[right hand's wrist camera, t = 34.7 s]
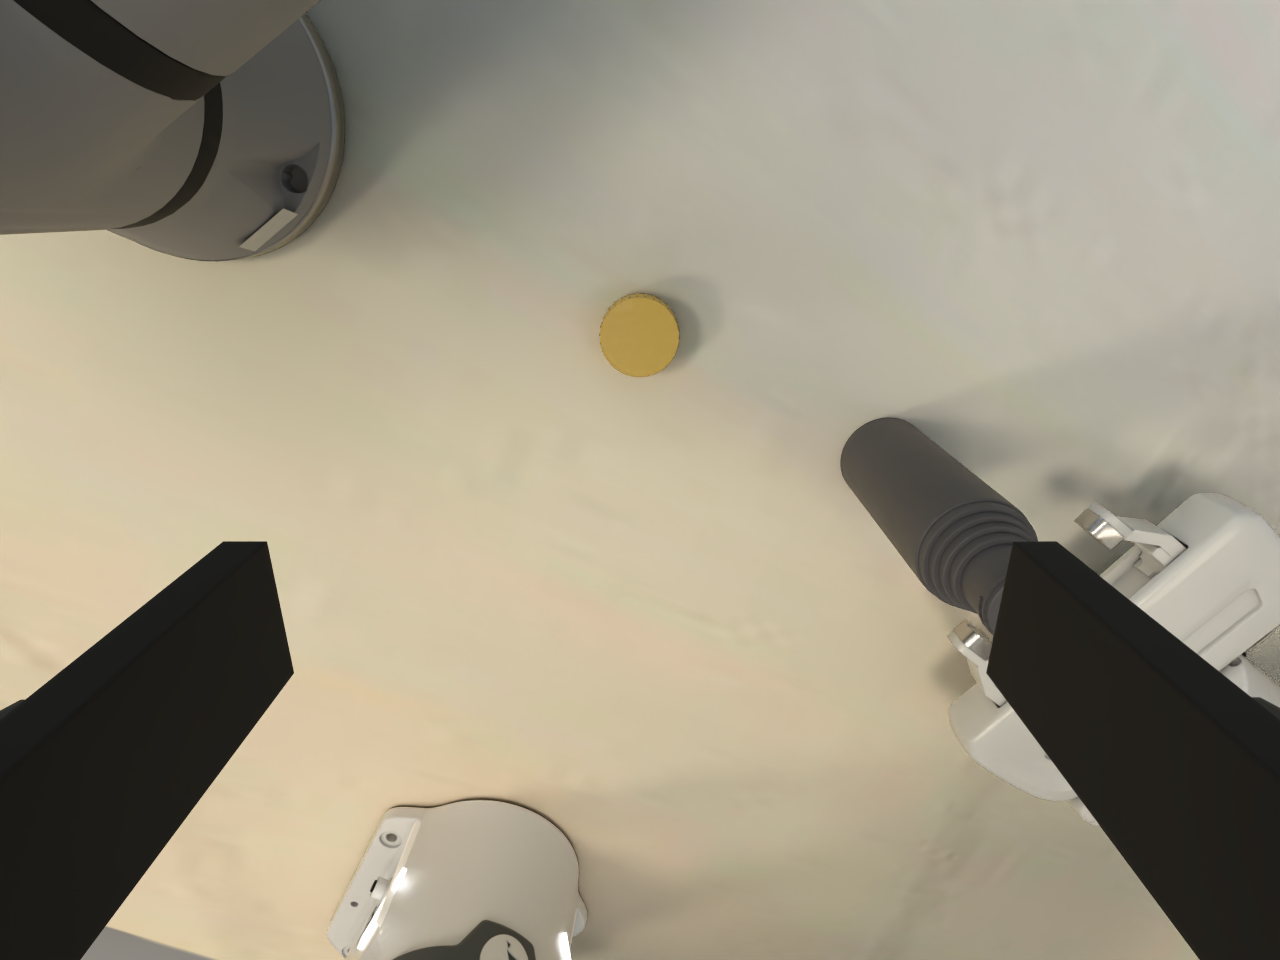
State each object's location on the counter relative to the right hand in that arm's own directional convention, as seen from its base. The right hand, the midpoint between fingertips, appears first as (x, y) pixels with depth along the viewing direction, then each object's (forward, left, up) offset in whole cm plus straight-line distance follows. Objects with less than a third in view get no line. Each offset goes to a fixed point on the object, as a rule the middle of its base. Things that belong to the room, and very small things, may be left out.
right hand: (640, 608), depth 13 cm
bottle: (+13, -11, -31) cm, 35 cm away
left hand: (+18, -17, -24) cm, 35 cm away
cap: (0, 0, -29) cm, 29 cm away
